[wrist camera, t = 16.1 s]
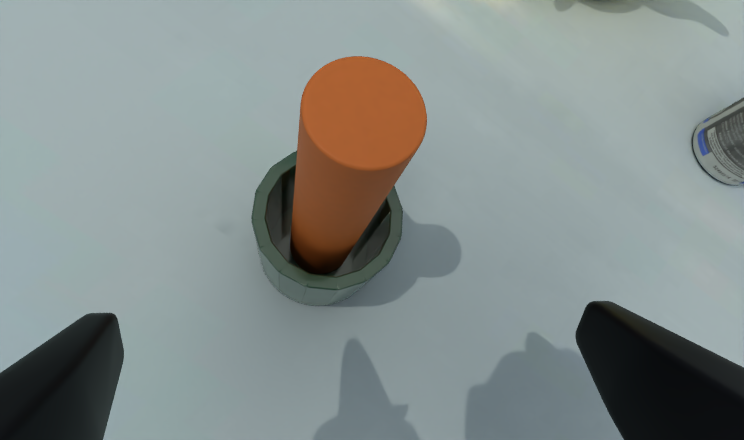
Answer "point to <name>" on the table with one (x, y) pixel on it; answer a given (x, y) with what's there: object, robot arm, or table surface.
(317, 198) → the orange cylindrical rod
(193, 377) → the table surface
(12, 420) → the robot arm
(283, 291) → the green cylindrical container
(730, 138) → the pill bottle
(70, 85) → the table surface
